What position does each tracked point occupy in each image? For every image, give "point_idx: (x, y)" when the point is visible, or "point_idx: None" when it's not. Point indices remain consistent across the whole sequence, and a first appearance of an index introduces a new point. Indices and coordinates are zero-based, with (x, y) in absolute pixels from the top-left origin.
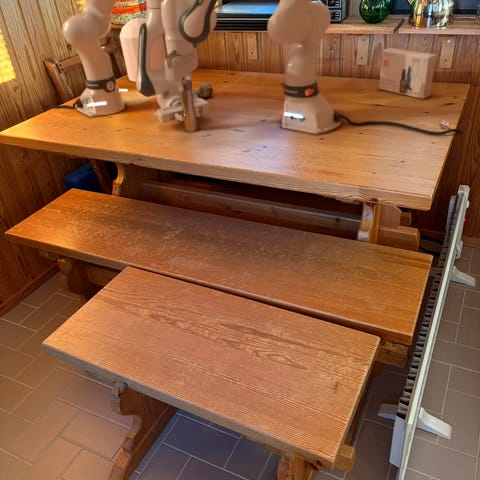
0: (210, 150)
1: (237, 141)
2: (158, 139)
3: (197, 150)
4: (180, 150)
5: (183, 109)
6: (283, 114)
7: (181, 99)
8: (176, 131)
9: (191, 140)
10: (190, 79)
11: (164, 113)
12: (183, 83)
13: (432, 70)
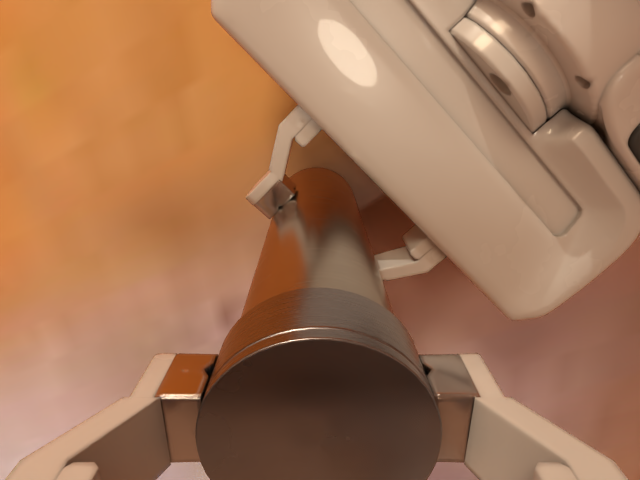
0: (76, 400)
1: (205, 472)
2: (112, 41)
3: (53, 346)
4: (18, 263)
5: (267, 236)
6: None
7: (260, 267)
8: (271, 113)
9: (159, 269)
10: (474, 471)
11: (239, 27)
12: (219, 465)
13: None
